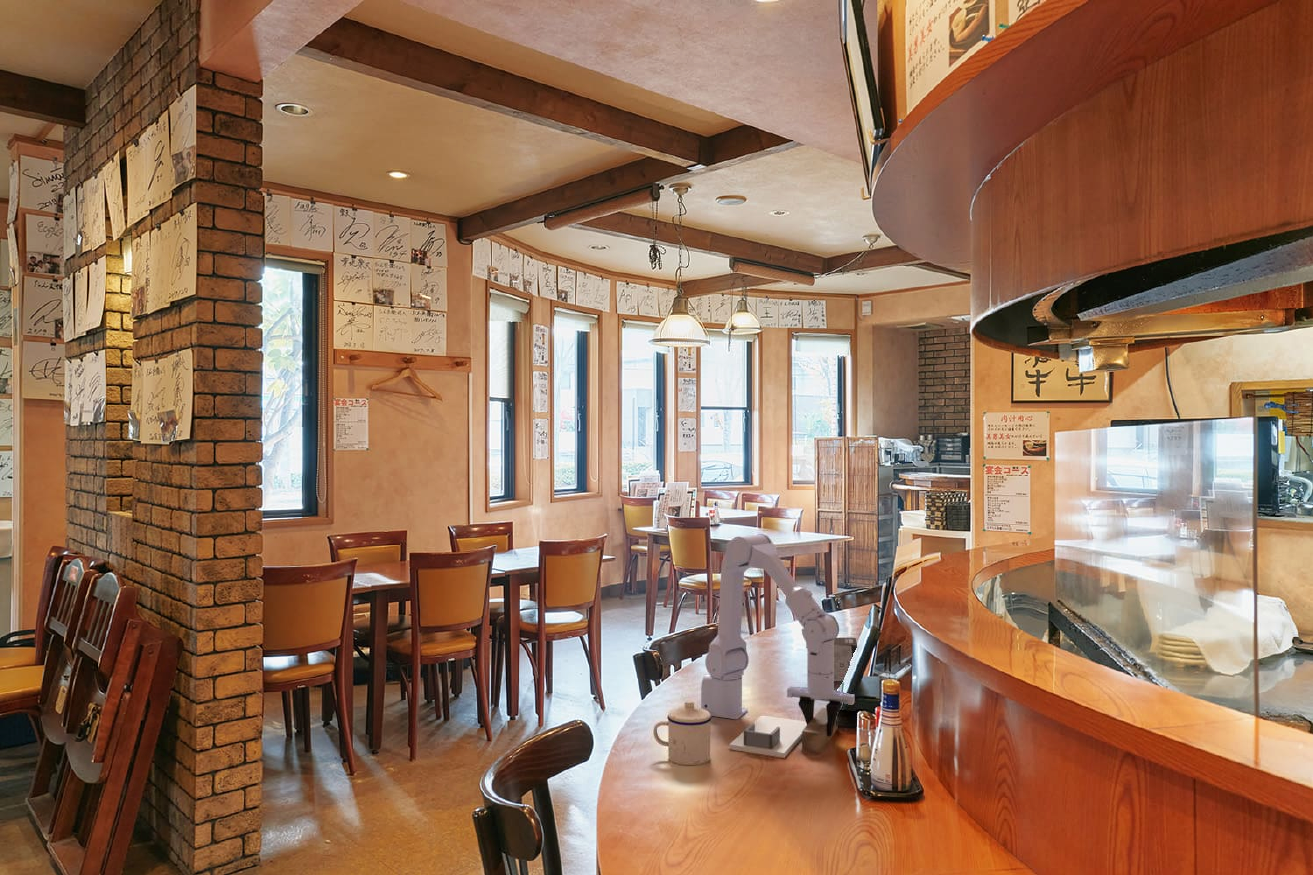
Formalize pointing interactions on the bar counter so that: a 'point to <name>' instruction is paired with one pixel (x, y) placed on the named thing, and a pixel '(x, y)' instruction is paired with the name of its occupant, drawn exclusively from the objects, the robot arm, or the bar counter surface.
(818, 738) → the rail
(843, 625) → the bar counter surface
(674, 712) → the teacup with lid
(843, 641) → the coffee box
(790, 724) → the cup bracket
